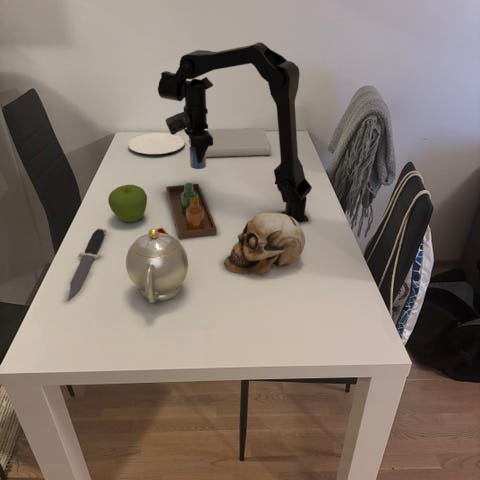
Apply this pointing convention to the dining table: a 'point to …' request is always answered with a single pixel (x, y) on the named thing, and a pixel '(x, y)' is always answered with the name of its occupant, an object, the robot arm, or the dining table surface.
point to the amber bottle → (195, 215)
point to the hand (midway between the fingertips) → (198, 159)
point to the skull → (266, 244)
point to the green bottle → (187, 196)
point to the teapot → (157, 265)
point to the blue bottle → (193, 160)
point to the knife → (86, 261)
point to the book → (238, 142)
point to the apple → (128, 203)
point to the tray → (180, 219)
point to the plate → (156, 143)
